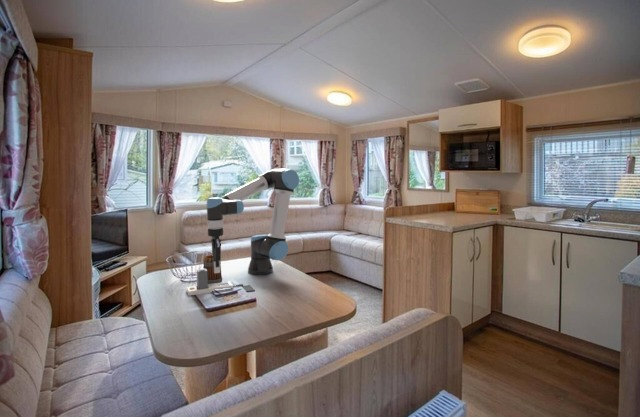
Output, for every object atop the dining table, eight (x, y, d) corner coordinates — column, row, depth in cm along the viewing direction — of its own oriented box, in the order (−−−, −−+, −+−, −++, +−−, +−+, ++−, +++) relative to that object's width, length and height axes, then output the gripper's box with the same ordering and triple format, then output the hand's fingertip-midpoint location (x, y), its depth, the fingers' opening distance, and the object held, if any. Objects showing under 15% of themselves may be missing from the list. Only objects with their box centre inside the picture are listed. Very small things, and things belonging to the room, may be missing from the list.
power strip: (241, 285, 192) (241, 278, 192) (244, 289, 186) (244, 282, 186) (186, 292, 179) (186, 286, 179) (188, 297, 173) (188, 290, 173)
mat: (249, 285, 192) (249, 284, 192) (254, 291, 184) (254, 289, 184) (233, 288, 188) (233, 287, 187) (237, 293, 180) (237, 292, 180)
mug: (218, 286, 190) (218, 259, 188) (199, 285, 190) (199, 258, 188) (227, 277, 205) (226, 252, 204) (209, 277, 206) (208, 252, 204)
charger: (206, 289, 182) (205, 267, 181) (207, 291, 179) (207, 269, 177) (197, 290, 180) (196, 268, 179) (198, 293, 176) (198, 270, 175)
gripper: (205, 226, 183) (207, 270, 186) (210, 230, 172) (212, 277, 175) (220, 225, 187) (221, 268, 190) (225, 229, 175) (227, 275, 178)
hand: (217, 272), depth 182 cm, fingers closed
